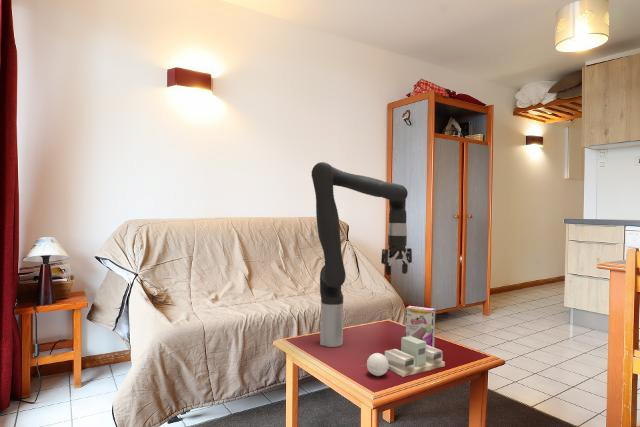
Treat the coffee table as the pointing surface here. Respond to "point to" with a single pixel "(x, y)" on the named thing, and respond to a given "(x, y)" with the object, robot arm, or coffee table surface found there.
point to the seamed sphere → (377, 364)
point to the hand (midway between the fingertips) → (396, 274)
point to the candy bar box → (421, 324)
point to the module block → (414, 349)
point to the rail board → (413, 361)
